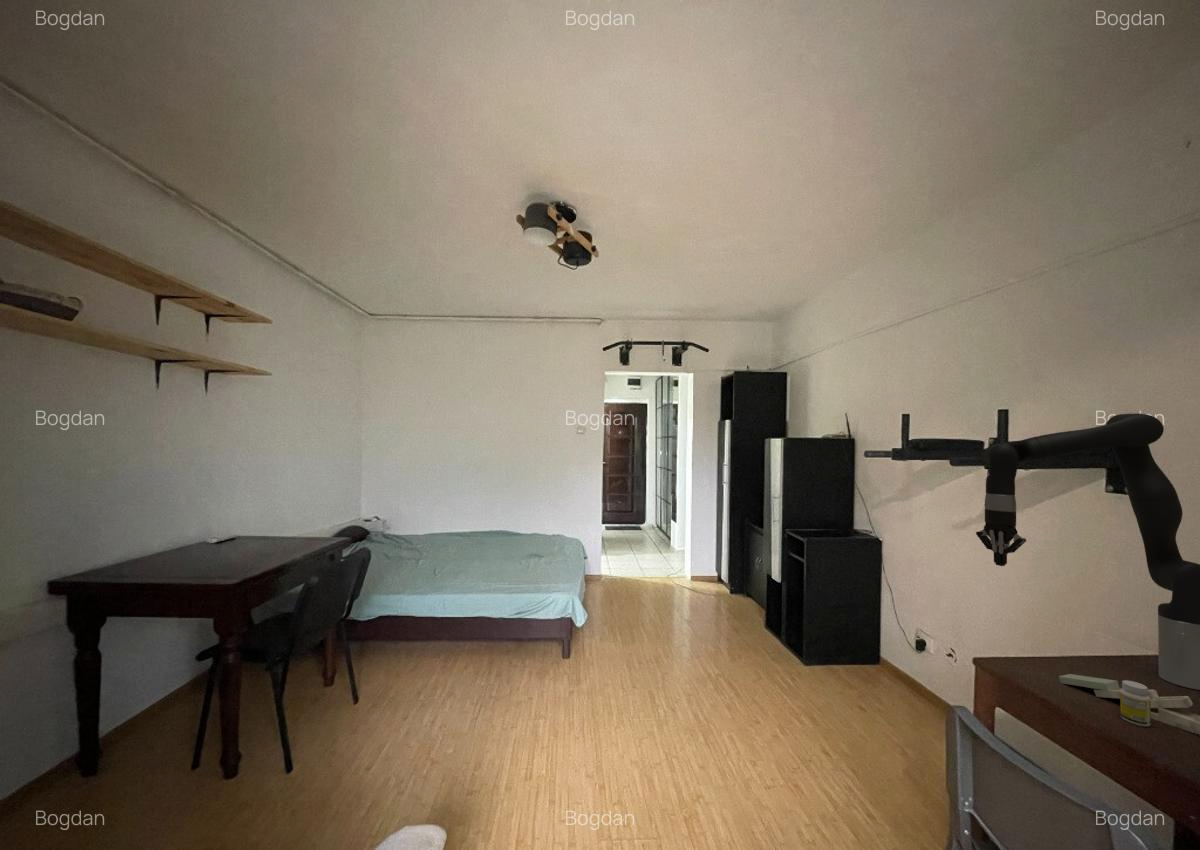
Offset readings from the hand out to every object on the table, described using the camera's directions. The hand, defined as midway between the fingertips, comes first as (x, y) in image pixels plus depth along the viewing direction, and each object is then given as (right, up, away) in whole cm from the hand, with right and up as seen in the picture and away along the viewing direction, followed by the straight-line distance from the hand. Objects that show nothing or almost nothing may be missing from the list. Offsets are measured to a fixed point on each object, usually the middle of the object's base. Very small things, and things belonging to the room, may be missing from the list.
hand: (1000, 565), depth 148 cm
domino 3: (+7, -25, -30) cm, 40 cm away
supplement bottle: (+1, -26, -36) cm, 45 cm away
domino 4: (+9, -26, -32) cm, 42 cm away
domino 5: (+10, -24, -35) cm, 43 cm away
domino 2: (+6, -26, -24) cm, 36 cm away
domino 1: (+3, -26, -17) cm, 31 cm away
